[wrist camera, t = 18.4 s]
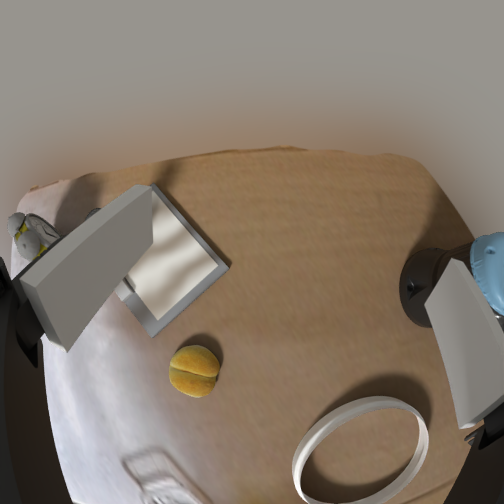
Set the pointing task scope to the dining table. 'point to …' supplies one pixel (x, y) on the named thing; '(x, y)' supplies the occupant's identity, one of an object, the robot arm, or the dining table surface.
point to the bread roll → (194, 370)
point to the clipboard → (169, 269)
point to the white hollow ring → (343, 416)
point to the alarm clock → (31, 234)
